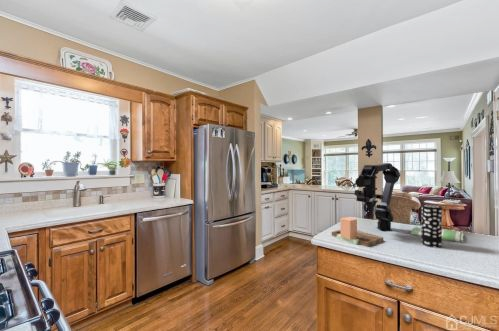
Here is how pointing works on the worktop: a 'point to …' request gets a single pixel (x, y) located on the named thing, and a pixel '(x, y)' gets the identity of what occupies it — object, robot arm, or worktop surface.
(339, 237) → the green end pad
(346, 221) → the terracotta block
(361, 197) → the robot arm
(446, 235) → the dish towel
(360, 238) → the walnut board
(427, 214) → the spotted tube
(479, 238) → the worktop surface
